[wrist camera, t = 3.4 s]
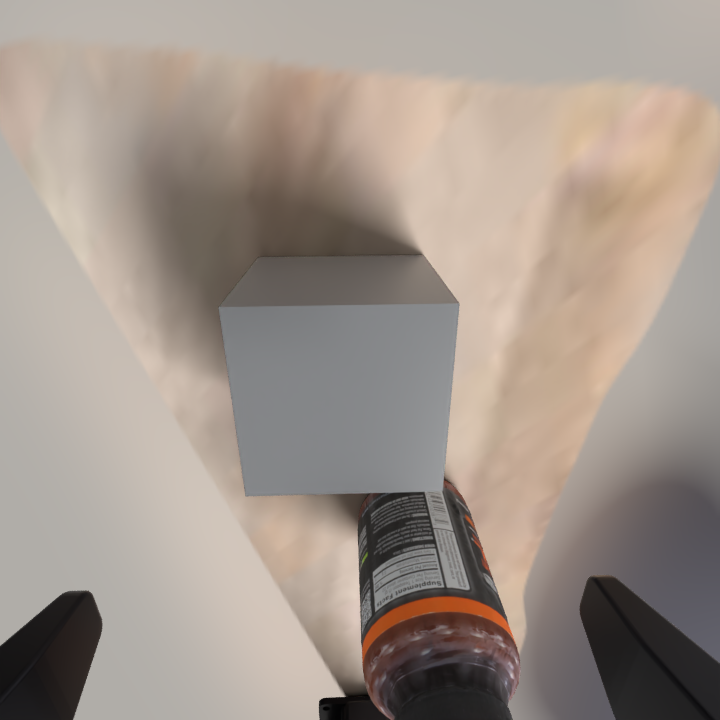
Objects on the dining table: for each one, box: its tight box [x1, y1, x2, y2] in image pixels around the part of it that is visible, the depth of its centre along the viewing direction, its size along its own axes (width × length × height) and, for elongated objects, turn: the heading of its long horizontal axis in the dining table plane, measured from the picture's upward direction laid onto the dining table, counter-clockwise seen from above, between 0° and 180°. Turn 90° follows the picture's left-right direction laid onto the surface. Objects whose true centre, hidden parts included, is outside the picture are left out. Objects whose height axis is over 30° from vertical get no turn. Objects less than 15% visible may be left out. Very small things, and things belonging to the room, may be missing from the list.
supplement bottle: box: [358, 480, 520, 720], centre depth 20 cm, size 6×6×11 cm
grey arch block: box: [218, 255, 459, 496], centre depth 17 cm, size 7×7×6 cm
